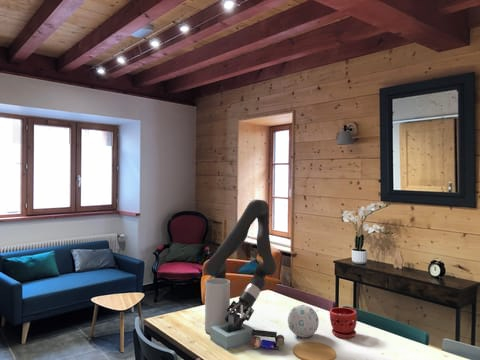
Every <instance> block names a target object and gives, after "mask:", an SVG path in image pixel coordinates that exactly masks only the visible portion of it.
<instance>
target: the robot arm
mask: <svg viewBox="0 0 480 360" xmlns="http://www.w3.org/2000/svg"><path fill="white" fill-rule="evenodd" d="M256 219H257V227H258V228H257V235H256V248H257V255H258V257H259V258H261V260H262V261H261V262H260V263H259V264H258V265H257V267H256V269H255V271H254V273H253V277H252V278H251V280H250V281H249V283H248V284H247V285H246V287H244V290H242V293H241V294H240V295H239V297H238V301H237V302H236V301H235V300H233V301H232V302H231V303H230V306H229V308H228V309H227V311H228V315H229V314H233V313H236V314H239V315H240V319H239V321H238V322H237V324H236V325H237V326H238V327H240V326H241V325H242V324H243V323H244V322H245V321H247V322H248V321H249V320H250V319H251V317H252V315H253V313H254V312H255V309H253V305H254V304H255V302H256V301H257V299H258V297H259V296H260V294H261V292H262V290H263V288H264V287H265V285H266V280H265V278H266V277H267V276H273V275H275V273H276V271H277V265H276V261H275V258H274V255H273V253H272V248H271V247H272V246H271V240H270V239H271V238H270V207H269V204H268V202H267V201H265V200H264V199H262V200H261V199H253V200H250V201H249V202H248V204H247V206H246V208H245V209H244V211H243V213H242V215H241V216H240V218H239V219H238V221H237V222H236V223H235V225H234V226H233V227H232V228H231V230H230V231H229V232H228V234H227V235H226V237H225V239H224V240H223V242H222V243H221V244H220V246H219V247H218V248H217V250H216V252H215V253H213V255H212V256H211V257H210V258H209V259H208V260H207V261H206V263H205V267H204V269H205V273H206V275H208V276H210V278H209V279H214V278H222V279H227V278H226V277H227V274H226V273H227V265H226V261H227V259H229V258H230V257H231V256H232V255H233V254H235V252H237V251H238V250H239V249H240V248H241V246H242V245H243V243H244V242H245V241H246V239H247V237H248V234H249V231H250V228H251V226H252V224H253V223H254V222H255V221H256ZM228 315H227V316H226V318H225V321H226V322H228Z"/></svg>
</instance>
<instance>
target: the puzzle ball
mask: <svg viewBox="0 0 480 360" xmlns="http://www.w3.org/2000/svg"><path fill="white" fill-rule="evenodd" d="M319 323H320V321H319V316H318V313H317V312H316V311H315V309H313V307H311V306H309V305H306V304H299V305H296V306H294V307H293V308H292V309H290V312H289V313H288V316H287V324H288V328H289V330H290V331H291V332H292V333H293V334H294V335H296V336H297V337H300V338H309V337H311V336H313V335H314V334H315V333H316V332H317V330H318V328H319Z"/></svg>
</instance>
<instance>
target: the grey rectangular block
mask: <svg viewBox="0 0 480 360" xmlns="http://www.w3.org/2000/svg"><path fill="white" fill-rule="evenodd" d="M240 318H241V314H240V313H237V314H236V313H233V314H229V315H228V333H231V332H235V331H238V330H240V327H238V326H237V325H236V324H237V322H238V321H239V319H240Z"/></svg>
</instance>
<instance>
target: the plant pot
mask: <svg viewBox="0 0 480 360" xmlns="http://www.w3.org/2000/svg"><path fill="white" fill-rule="evenodd" d="M357 314H358V313H357V310H355V309H353V308H350V307H343V306H341V307H333V308H330V309H329V321H330V324H331V327H332V329H331V333H332V334H333V335H335V336H336V337H339V338H344V339H345V338H346V339H348V338H349V339H350V338H353V337H354V336H355V335H357V331H356V326H357V321H358V320H357V318H358V316H357Z"/></svg>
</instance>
